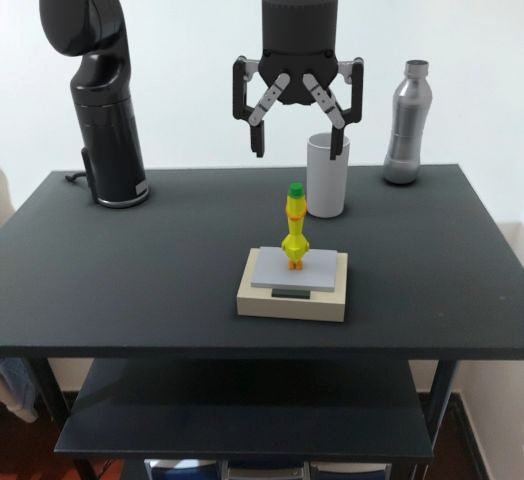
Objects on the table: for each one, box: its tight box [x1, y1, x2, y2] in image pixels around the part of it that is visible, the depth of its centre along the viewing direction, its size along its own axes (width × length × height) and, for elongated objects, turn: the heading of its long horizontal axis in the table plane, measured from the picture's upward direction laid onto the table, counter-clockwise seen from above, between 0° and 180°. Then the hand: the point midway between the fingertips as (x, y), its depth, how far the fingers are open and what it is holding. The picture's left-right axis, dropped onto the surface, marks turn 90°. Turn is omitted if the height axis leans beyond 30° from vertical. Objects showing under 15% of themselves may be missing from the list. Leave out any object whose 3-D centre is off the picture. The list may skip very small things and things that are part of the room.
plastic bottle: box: [382, 59, 434, 185], centre depth 94 cm, size 6×7×20 cm
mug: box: [306, 131, 351, 219], centre depth 90 cm, size 10×7×12 cm, turn 167°
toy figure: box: [281, 181, 310, 270], centre depth 70 cm, size 7×4×12 cm, turn 174°
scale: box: [236, 246, 348, 323], centre depth 75 cm, size 14×12×4 cm
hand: (296, 156), depth 64 cm, fingers open, 8 cm apart
